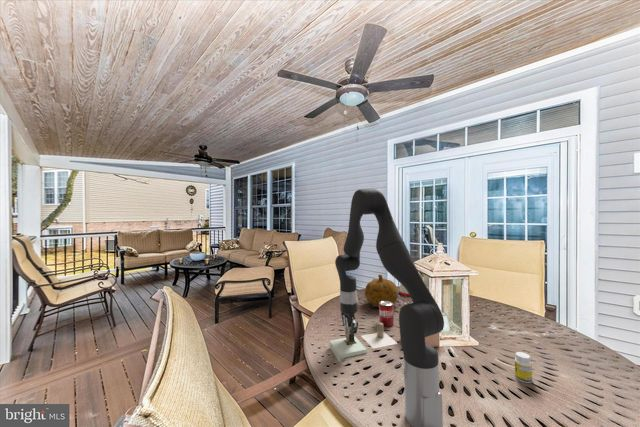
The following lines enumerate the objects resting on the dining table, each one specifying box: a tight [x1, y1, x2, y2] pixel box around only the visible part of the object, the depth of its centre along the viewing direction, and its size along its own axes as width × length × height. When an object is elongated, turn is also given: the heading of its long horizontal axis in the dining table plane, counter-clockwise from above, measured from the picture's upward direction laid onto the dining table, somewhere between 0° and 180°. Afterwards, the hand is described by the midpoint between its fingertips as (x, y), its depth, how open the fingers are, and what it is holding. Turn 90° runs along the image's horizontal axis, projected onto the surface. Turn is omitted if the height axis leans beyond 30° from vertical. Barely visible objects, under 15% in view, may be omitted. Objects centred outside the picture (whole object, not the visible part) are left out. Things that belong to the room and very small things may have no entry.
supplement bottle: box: [514, 351, 533, 384], centre depth 90 cm, size 5×5×8 cm
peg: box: [345, 323, 354, 345], centre depth 113 cm, size 3×3×10 cm
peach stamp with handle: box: [425, 332, 440, 348], centre depth 114 cm, size 11×11×15 cm
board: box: [360, 321, 398, 350], centre depth 117 cm, size 12×12×8 cm
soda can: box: [378, 301, 395, 328], centre depth 133 cm, size 7×7×12 cm
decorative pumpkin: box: [364, 274, 399, 308], centre depth 163 cm, size 20×21×20 cm
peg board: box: [329, 335, 368, 363], centre depth 111 cm, size 12×12×3 cm
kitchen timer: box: [398, 282, 410, 297], centre depth 184 cm, size 14×14×15 cm
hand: (349, 339), depth 113 cm, fingers closed on peg, 3 cm apart
